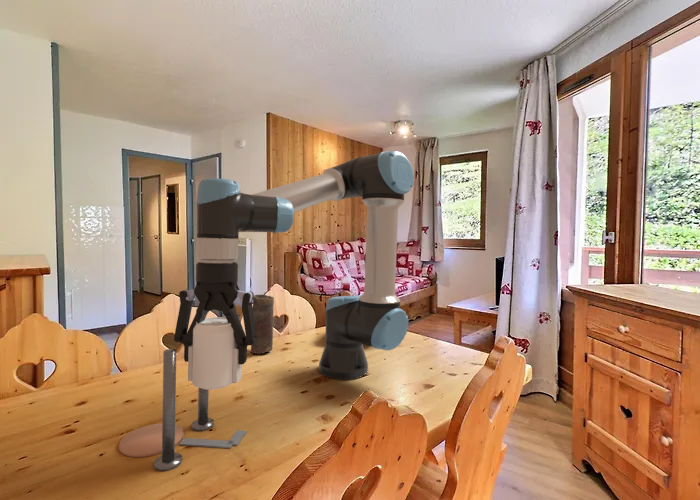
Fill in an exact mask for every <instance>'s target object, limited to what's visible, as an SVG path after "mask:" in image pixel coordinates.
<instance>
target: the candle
mask: <svg viewBox="0 0 700 500" xmlns="http://www.w3.org/2000/svg"><path fill="white" fill-rule="evenodd" d="M274 305H275V297H274V296H271V295H266V294H255V295H254V296H253V301H252V307H253V314H254V320H255V327H256V334H257V341H256V342H255V343H253V344H252V345H250V353H251V352H252V353H251V354H253V353H255V354H260V355H261V353H262V354H266V353H265V352H268V353H269V351H270V352H271V351H273V343H274V342H273V341H274Z"/></svg>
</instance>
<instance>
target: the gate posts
mask: <svg viewBox="0 0 700 500" xmlns="http://www.w3.org/2000/svg"><path fill="white" fill-rule="evenodd" d="M162 355H163V357H162V359H163V361H162V362H163V365H162V369H163V370H162V374H163V375H162V420H161V423H162V453H161V455H159V456H158V457H157V458H156V459H154V462H153V468H154V469H155V470H156V471H159V472H167V471H171V470H174V469H175V468H177V467H179V466H180V465H181V464H182V461H183V456H182V454H181V453H179V452H176V450H175V449H176V446H175V424H176V396H177V395H176V394H177V393H176V390H177V386H176V385H177V383H176V382H177V349H175V348H169V349H167V348H166V349H165V350H163V354H162ZM197 388H198V389H197V391H198V394H197V396H198V397H197V398H198V399H197V405H198V406H197V419H195V420H193V421H192V422H191V429H192V431H196V432H203V431H207V430H210V429H211V428H213V427H214V426H215V420H214V419H213V418H212V417H209V390H207V389H201V388H199V387H197Z"/></svg>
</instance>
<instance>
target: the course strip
mask: <svg viewBox="0 0 700 500" xmlns="http://www.w3.org/2000/svg"><path fill="white" fill-rule="evenodd" d="M246 434H247V430H241V429H239V430H238V429H237V430H236V431H235V432H234V434H233V435H232V436H231V438H230V439H229V440H221V439H207V438H192V437H191V438H190V437H183V438H182V440H181V441H180V442H179V443H178V445H179V446H187V447H188V446H189V447H200V448H201V447H202V448H204V447H205V448H216V449H218V448H219V449H231V448H232V446H233V447H234V446H235V447H238V446H239V445H240V443H241V441H242V440H243V438H244V436H246Z"/></svg>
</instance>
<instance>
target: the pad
mask: <svg viewBox="0 0 700 500" xmlns="http://www.w3.org/2000/svg"><path fill="white" fill-rule="evenodd" d="M183 439H184V429H183V427H181V426H180V425H178V424H176V423H175V447H176V446H177V445H179V444H180V443H181V442H182V440H183ZM118 449H119V451H120V453H121V454H122V455H124V456H127V457H130V458H145V457H151V456H156V455H159V454H162V422H161V423H154V424H153V423H152V424H149V425H144V426H141V427H139V428H137V429H134V430H133V431H130V432H128V433H127V434H125V436H124V437H122V438H121V440H120V441H119V444H118Z"/></svg>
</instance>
